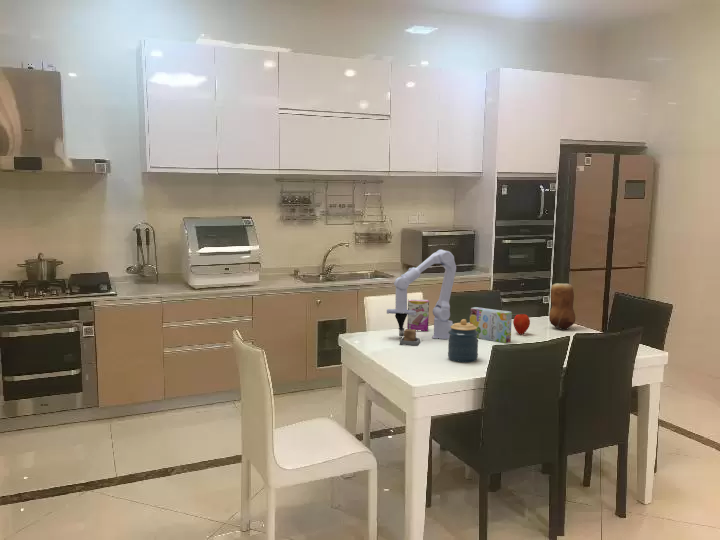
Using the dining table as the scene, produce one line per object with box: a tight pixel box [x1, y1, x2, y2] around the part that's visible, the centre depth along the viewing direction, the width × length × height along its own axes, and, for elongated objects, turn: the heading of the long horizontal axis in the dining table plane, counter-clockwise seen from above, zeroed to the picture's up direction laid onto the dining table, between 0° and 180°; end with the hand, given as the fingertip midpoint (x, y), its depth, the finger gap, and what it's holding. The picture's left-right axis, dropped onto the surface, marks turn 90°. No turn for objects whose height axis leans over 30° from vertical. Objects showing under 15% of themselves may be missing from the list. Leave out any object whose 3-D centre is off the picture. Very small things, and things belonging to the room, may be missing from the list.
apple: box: [512, 313, 531, 335], centre depth 317 cm, size 9×8×11 cm
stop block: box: [403, 328, 417, 341], centre depth 295 cm, size 5×4×6 cm
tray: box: [399, 336, 421, 347], centre depth 295 cm, size 8×8×2 cm
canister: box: [447, 318, 479, 363], centre depth 266 cm, size 13×13×18 cm
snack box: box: [469, 306, 513, 344], centre depth 305 cm, size 21×6×15 cm, turn 47°
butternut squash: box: [548, 282, 576, 330], centre depth 331 cm, size 14×13×25 cm
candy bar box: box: [406, 298, 430, 332], centre depth 325 cm, size 11×5×16 cm, turn 84°
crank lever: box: [398, 327, 406, 337], centre depth 307 cm, size 8×3×4 cm, turn 74°
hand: (401, 328), depth 304 cm, fingers closed
